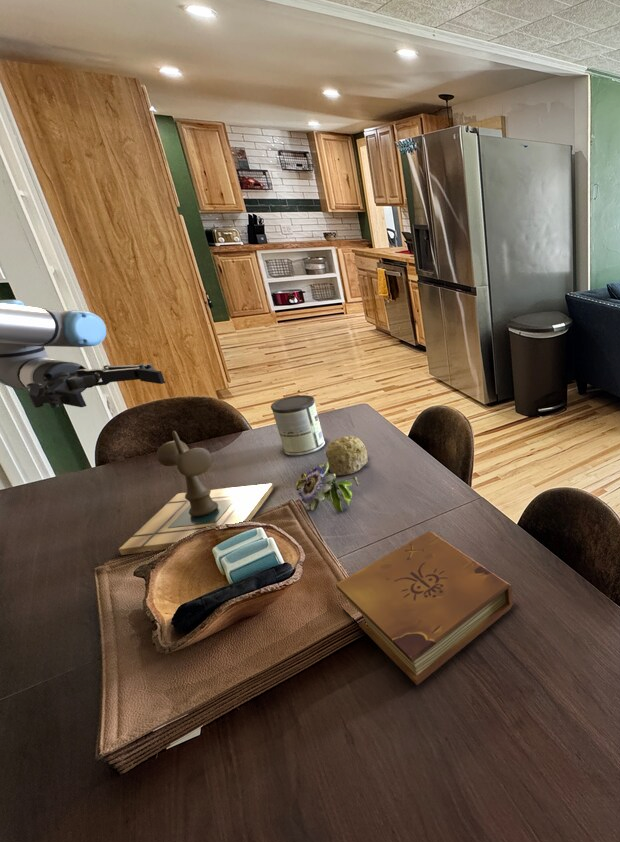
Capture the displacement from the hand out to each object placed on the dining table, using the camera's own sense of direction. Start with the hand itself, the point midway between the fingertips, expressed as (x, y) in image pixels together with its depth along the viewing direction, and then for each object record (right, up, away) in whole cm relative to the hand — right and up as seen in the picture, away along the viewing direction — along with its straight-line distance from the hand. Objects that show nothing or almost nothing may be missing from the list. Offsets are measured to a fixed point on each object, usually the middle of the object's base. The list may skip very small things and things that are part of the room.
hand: (123, 388), depth 96 cm
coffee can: (+12, -16, +40) cm, 45 cm away
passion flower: (+33, -27, +15) cm, 45 cm away
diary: (+67, -39, -14) cm, 79 cm away
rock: (+30, -20, +30) cm, 47 cm away
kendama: (+9, -27, +9) cm, 30 cm away
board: (+9, -29, +9) cm, 31 cm away
